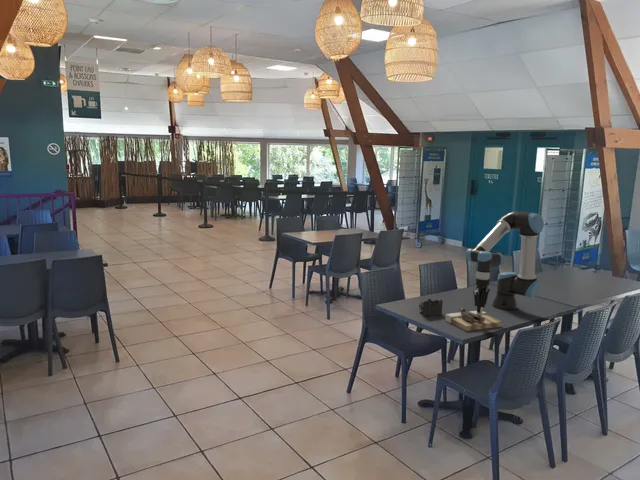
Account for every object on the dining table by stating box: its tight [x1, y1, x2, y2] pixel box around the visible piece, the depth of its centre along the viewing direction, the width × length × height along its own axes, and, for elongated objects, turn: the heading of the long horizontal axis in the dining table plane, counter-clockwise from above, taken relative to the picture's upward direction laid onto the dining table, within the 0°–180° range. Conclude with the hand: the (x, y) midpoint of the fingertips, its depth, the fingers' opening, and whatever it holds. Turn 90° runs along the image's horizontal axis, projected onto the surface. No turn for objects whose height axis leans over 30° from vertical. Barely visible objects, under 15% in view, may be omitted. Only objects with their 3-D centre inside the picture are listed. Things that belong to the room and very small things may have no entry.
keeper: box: [462, 313, 474, 323], centre depth 295 cm, size 2×8×4 cm, turn 22°
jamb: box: [445, 310, 487, 324], centre depth 306 cm, size 26×5×6 cm, turn 112°
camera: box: [418, 298, 443, 317], centre depth 315 cm, size 14×11×10 cm
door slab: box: [450, 313, 503, 332], centre depth 298 cm, size 26×14×3 cm, turn 112°
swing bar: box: [459, 307, 485, 322], centre depth 298 cm, size 18×4×3 cm, turn 27°
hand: (479, 317), depth 296 cm, fingers closed
